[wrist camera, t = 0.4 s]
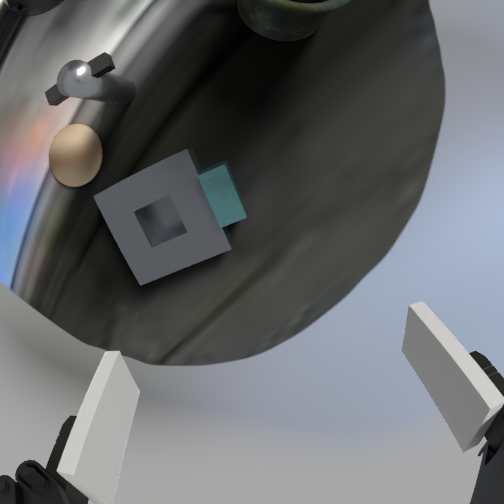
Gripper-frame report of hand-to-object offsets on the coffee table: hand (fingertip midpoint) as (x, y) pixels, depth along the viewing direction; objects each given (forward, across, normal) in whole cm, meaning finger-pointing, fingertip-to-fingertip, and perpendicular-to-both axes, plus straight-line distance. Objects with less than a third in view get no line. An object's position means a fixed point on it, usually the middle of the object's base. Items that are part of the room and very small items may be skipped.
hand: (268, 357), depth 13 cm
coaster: (+27, -20, +11) cm, 35 cm away
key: (+27, -12, +17) cm, 34 cm away
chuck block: (+26, -8, +1) cm, 28 cm away
